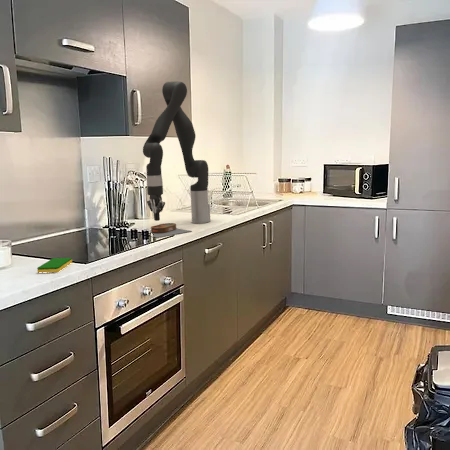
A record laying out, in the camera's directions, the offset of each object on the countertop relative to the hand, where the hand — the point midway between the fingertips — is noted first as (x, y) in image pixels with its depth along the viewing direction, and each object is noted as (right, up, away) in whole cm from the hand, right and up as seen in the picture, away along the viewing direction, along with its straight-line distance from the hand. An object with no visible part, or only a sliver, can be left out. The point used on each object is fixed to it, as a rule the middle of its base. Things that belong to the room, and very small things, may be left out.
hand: (156, 220), depth 228 cm
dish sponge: (-26, -18, -64) cm, 72 cm away
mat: (+5, -6, -4) cm, 9 cm away
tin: (-1, -4, +2) cm, 4 cm away
